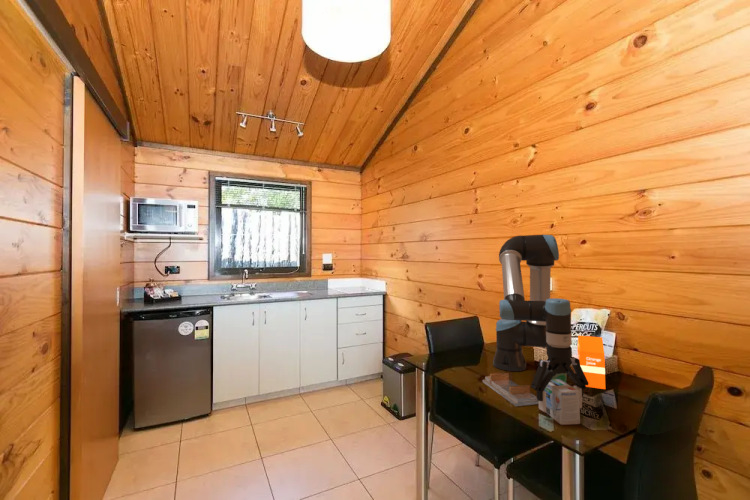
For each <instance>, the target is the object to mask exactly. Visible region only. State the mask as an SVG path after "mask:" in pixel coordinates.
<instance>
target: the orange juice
mask: <svg viewBox="0 0 750 500" xmlns="http://www.w3.org/2000/svg"><path fill="white" fill-rule="evenodd" d="M577 359H579V360H580V366H581V368H582V370H583V372H584V375H585V377H586V379H587V381H588V383H589V385H588V386H587V385H585V386H586V388H593V389H594V388H595V389H601V390H606V366H605V365H606V361H605V349H604V341H603V337H601V336H600V337H599V336H588V335H587V336H586V335H578V336H577Z"/></svg>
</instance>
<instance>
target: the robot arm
mask: <svg viewBox="0 0 750 500" xmlns="http://www.w3.org/2000/svg"><path fill="white" fill-rule="evenodd" d="M559 256H560V253H559V247H558V242H557V239H556V237H555V236H554V235H552V234H532V235H531V234H529V235H526V234H525V235H516V236H515V235H514V236H512V237H511V238H509V239H507V240H506V241H505V242H504V243H503V245H502V246H501V248H500V249H499V253H498V261H499V263H500V264H501V271H502V274H501V275H502V285H503V286H502V289H503V299H501V300H500V299H499V318H500V319H499V320H497V321H496V323H495V331H496V339H495V341H496V344H495V345H496V350H495V352H494V353H495V354H494V356H493V360H492V365H493V367H495V368H497V369H499V370H503V371H507V372H521V371H525V370H527V363H526V358H525V356H524V354H523V347H530V348H531V347H534V348H542V349H545V348H546V355H547V359H546V360H544V359H539V360H538V367H537V369H536V371H535V372H536V373H535V374H534V376H533V380H532V381H531V383H530V388H532V389H533V390H535V391H536V396H537V400H539V404H538V409H539V410H540V411H542V412H543V413H546V392H545V391H544V389H545V388H546V386H547V385H548V383H549V382H550V380H551V379H552V377H553V376H555V375H556V374H560V373H567V377H569V378H570V379H571V381H572V382H573V383H574V384H575V385H573V387H574V388H575V389H577V390H579V400H580V409H583V398H584V390H585V389H586V388H587V387H586V386H585V385H587V386H588V385H589V383H588V381H587V379H586V377H585V375H584V372H583V370H582V368H581V366H580V360H579V359H578V357H577V358H576V357H574V356H573V347H572V315H571V314H572V309H571V302H570V300H569V299H565V298H557V297H555V298H553V297H552V298H551V268H553V267H554V266H555V262H557V261H558V260H559V258H560V257H559ZM522 261H523V262H525V261H526V263H525V264H526V266H528V267H529V300H526V299H525V290H524V283H523V276H522V269H521V268H522V266H521V262H522ZM571 366H572V367H571ZM572 368H573V369H572ZM551 370H552V371H551Z"/></svg>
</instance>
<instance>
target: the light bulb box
mask: <svg viewBox="0 0 750 500" xmlns="http://www.w3.org/2000/svg"><path fill="white" fill-rule="evenodd" d="M544 391H545V392H546V412H545V413H546V414H547V415H549V416H550V417H551V418H552V419H553V420H555V421H556V422H557V423H558V424H560V425H561V426H563V425H568V426H569V425H580V424H581V417H580V416H581V412H580V410H581V408H580V400H579V390H577V389H575V388H574V386H572V385H570V384H568V383H567V382H566V383H565V382H563V381H561V380H560V379H554V380H550V382H549V383H548V385H547V386H546V388H545V389H544Z"/></svg>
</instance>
